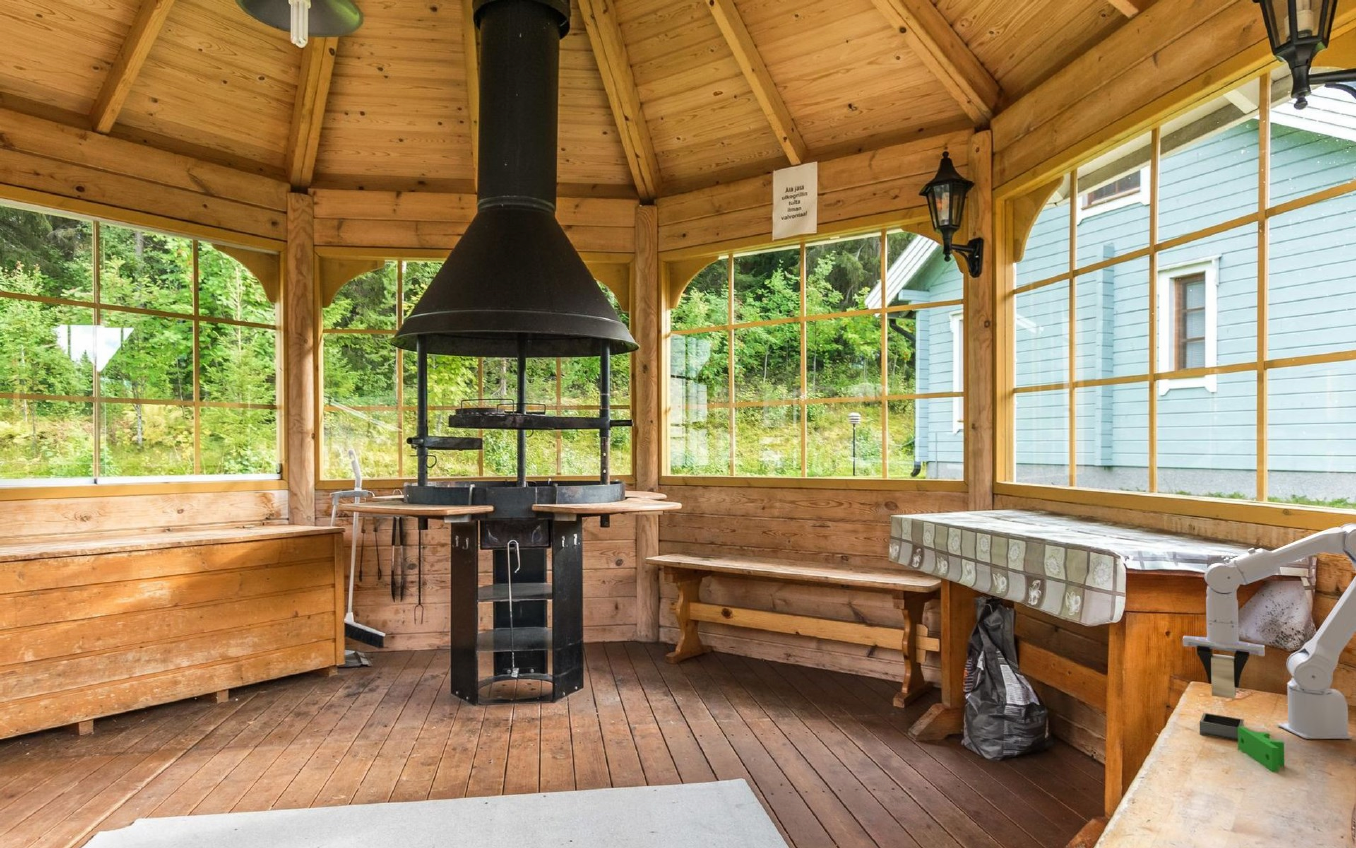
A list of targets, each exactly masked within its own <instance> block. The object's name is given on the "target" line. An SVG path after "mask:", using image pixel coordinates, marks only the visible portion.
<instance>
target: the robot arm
mask: <svg viewBox="0 0 1356 848" xmlns="http://www.w3.org/2000/svg"><path fill="white" fill-rule="evenodd" d="M1320 553H1321V554H1322V553H1329V554H1337V555H1346V556H1347V558H1348V559H1349V560H1350V562H1351V564H1352V567H1353V569H1354V571H1355V572H1356V523H1355V522H1350V523H1346V524H1343V525H1342V526H1340V527H1338V526H1336V527H1331V528H1328V529H1325V530H1322V531H1318V532H1316V533H1314V534H1311V535H1308V536H1306V537H1304V538H1301V539H1298V540H1296V541H1294V542H1292V543H1288V544H1286V545H1284V546H1281V547H1279V548H1276V549H1274V550H1271V551H1270V550H1267V549H1265V548H1261V547H1260V548H1257V549H1255V548H1254V547H1252V548H1249V549H1247V553H1243V554H1242V555H1239V556H1236V557H1234V558H1231V559H1230V558H1229V557H1227V558H1224V559H1223V562H1222V563H1221V562H1216V563H1212V564H1209V566H1208V567H1206V569H1205V572H1204V574H1203V578H1204V581H1205V582H1206V584H1207V586H1206V591H1205V593H1206V597H1205V606H1206V607H1205V608H1206V609H1205V610H1206V611H1205V612H1206V613H1205V614H1206V615H1205V617H1206V618H1205V619H1206V637H1205V636H1194V635H1193V636H1191V635H1183V637H1182V646H1183V647H1188V648H1189V647H1193V648H1196V654H1197V656H1198V658H1199V659H1200V661H1201V664H1202V667H1204V670H1205V674H1206V676H1207V677H1206V678H1207V681H1208V682H1207V683H1208V684H1210V685H1212V684H1211V657H1212V655H1213V650H1216V651H1217V650H1218V651H1225V652H1232V653H1234V654H1233V657H1234V663H1235V678H1234V687H1236V689H1239V688H1240V681H1241V676H1242V672H1243V670H1244V668H1245V666H1246V663H1247V662H1248V661H1249V658H1250V656H1251V655H1257V656H1259V657H1265V654H1266V652H1265V650H1266V649H1265V644H1258V643H1257V644H1256V643H1252V642H1246V641H1241V640H1240V635H1239V634H1240V633H1239V630H1240V629H1239V628H1240V627H1239V600H1238V599H1237V597H1238V596H1237V595H1238V594H1237V590H1238V588H1239V587H1240V585H1243V586H1245V585H1248V584H1250V583H1254V582H1257V581H1260V580H1263V579H1265V578H1268V577H1271V576H1274V575H1276V574H1278V571H1279V569H1280V567H1281V566H1283V565H1286V564H1289V563H1293V562H1295V561H1298V560H1302V559H1306V558H1308V557H1311V556H1314V555H1315V556H1316V555H1318V554H1320ZM1355 634H1356V575H1355V576H1354V578H1353V579H1352V581H1351V582H1350V584H1349V585H1348V586H1347V588H1346V590H1345V591H1344V592H1343V593H1342V595H1341V596H1340V598H1339V600H1338V601H1337V602H1336V604H1335V605H1334V606H1333V609H1332V610H1331V611H1330V613H1329V614H1328V616H1326V618H1325V619H1324V621H1323V622H1322V623H1321V625H1320V627H1319V629H1317V631H1316V633H1315V634H1313V637H1312V638H1311V639H1309V640H1308V641H1306V642H1305V643H1304V645H1303V646H1302V647H1301V648H1300V649H1298V650H1297V651H1295V652H1293V653H1291V654H1290V655H1289V656H1288V658H1287V659H1286V669H1287V671H1288V673H1289V674H1290V675H1291V676H1292V677H1291V679H1290V680H1289V681H1288V682H1287V683H1286V684H1287V722H1281V723H1280V722H1279V723H1277V726H1278V727H1280V728H1282V729H1284V730H1286V731H1288V732H1291V733H1293V734H1294V735H1296V736H1298V737H1301V738H1303V739H1308V740H1309V739H1311V740H1312V739H1313V740H1314V739H1315V740H1318V739H1321V740H1322V739H1323V740H1324V739H1325V740H1327V739H1329V740H1331V739H1333V740H1336V739H1338V740H1339V739H1343V740H1347V739H1349V740H1350V739H1352V735H1349V707H1348V703H1347V699H1346V697H1345V696H1344V695H1343V693H1341V691H1339V690H1338V689H1335V688H1331V685H1333V680H1334V679H1333V678H1334V675H1333V674H1334V671H1335V670H1336V668H1337V666H1338V664H1339V658H1340V655H1341V654H1342V652H1343V651H1344V649H1345V648H1346V646H1347V644H1348V643H1349V642H1350V641H1351V639H1352V638H1353V636H1354V635H1355Z"/></svg>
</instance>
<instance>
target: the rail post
mask: <svg viewBox="0 0 1356 848" xmlns="http://www.w3.org/2000/svg"><path fill="white" fill-rule="evenodd" d="M1234 678H1235V663H1234V656H1231V655H1224V654H1223V655H1222V654H1217V653H1216V654H1214V653H1212V657H1211V684H1210V685H1211V696H1212V697H1218V698H1223V699H1224V698H1225V699H1231V700H1235V698H1236V695H1237V688H1236V687H1234Z"/></svg>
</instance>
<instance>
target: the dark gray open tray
mask: <svg viewBox="0 0 1356 848" xmlns="http://www.w3.org/2000/svg"><path fill="white" fill-rule="evenodd" d="M1238 727H1245V720H1244V719H1243V718H1237V717H1232V716H1231V717H1230V716H1225V715H1220V714H1214V713H1208V712H1203V713H1202V716H1201V717H1200V720H1199V735H1204V736H1209V737H1215V738H1221V739H1224V740H1225V739H1226V740H1231V741H1237V742H1238Z"/></svg>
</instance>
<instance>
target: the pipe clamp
mask: <svg viewBox="0 0 1356 848" xmlns="http://www.w3.org/2000/svg"><path fill="white" fill-rule="evenodd" d="M1237 750H1239V751H1241V753H1244V754H1245V755H1247V756H1248V757H1250V758H1251V759H1252V760H1253V761H1256V762H1257V763H1259V764H1260V765H1261V766H1262V767H1265V768H1266V769H1267V770H1268V771H1271V772H1272V773H1280V767H1285V742H1284V741H1282V740H1276V739H1271V734H1270V733H1269V732H1261V731H1259V732H1258V731H1256V732H1255V731H1252V730H1250V729H1249V728H1247V727H1245V726H1244V727H1238V741H1237Z"/></svg>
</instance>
